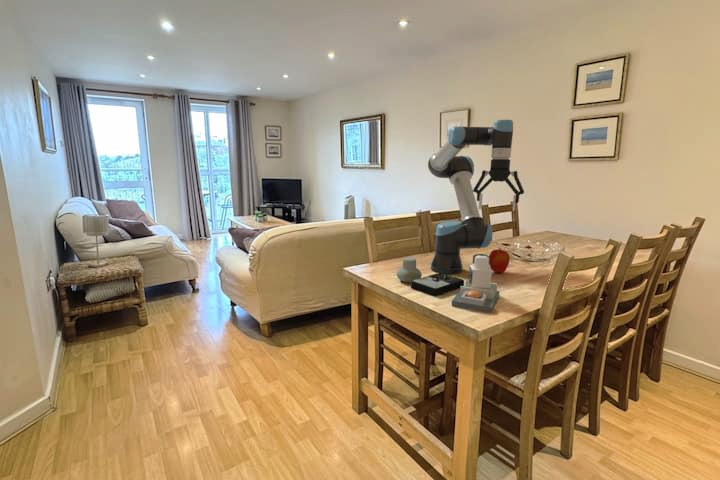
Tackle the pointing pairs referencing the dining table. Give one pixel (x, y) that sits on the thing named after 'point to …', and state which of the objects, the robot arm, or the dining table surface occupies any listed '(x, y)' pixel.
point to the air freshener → (409, 270)
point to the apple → (499, 260)
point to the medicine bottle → (480, 272)
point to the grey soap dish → (483, 304)
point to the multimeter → (437, 284)
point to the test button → (474, 294)
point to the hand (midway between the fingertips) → (496, 209)
